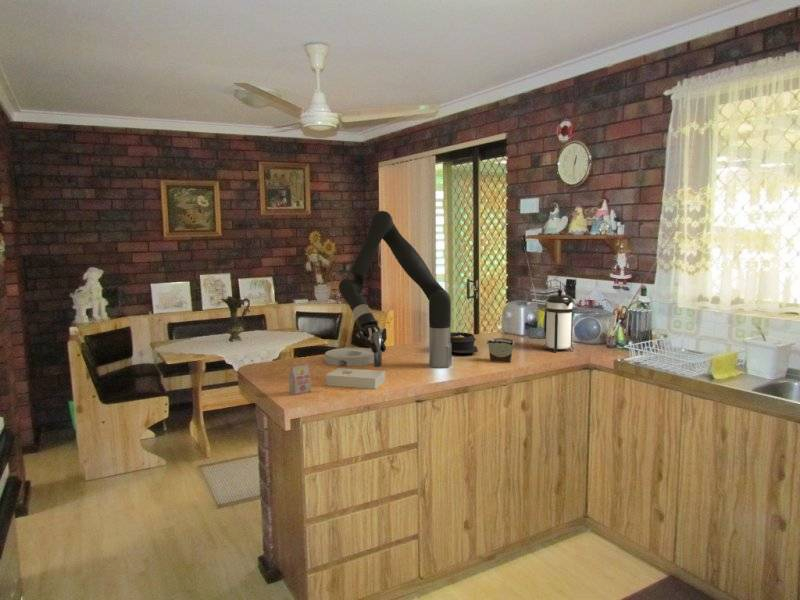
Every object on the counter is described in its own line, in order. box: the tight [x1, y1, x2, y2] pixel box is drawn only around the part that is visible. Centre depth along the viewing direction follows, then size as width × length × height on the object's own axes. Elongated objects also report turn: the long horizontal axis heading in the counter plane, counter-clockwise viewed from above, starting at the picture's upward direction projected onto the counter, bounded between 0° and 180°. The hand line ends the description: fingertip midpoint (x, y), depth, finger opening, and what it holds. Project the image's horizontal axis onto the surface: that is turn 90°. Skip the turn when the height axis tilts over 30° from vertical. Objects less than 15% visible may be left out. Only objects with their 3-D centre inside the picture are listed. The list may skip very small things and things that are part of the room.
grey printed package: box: [288, 364, 312, 396], centre depth 209 cm, size 4×7×10 cm, turn 128°
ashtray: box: [324, 347, 374, 367], centre depth 262 cm, size 23×23×4 cm
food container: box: [486, 337, 515, 364], centre depth 258 cm, size 12×6×10 cm, turn 65°
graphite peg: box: [373, 331, 383, 368], centre depth 230 cm, size 3×3×14 cm
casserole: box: [450, 331, 479, 355], centre depth 279 cm, size 25×19×8 cm
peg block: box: [325, 367, 386, 390], centre depth 222 cm, size 20×12×4 cm, turn 73°
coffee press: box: [542, 289, 575, 353], centre depth 281 cm, size 17×16×30 cm
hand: (380, 351), depth 228 cm, fingers closed on graphite peg, 3 cm apart
